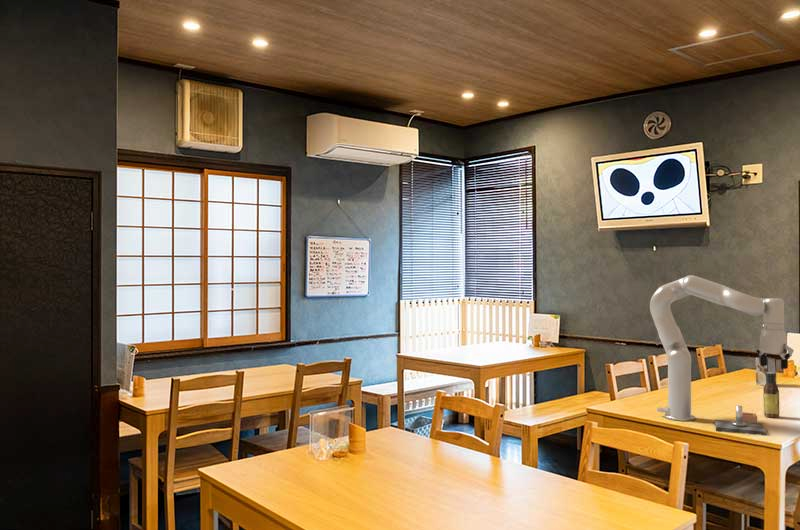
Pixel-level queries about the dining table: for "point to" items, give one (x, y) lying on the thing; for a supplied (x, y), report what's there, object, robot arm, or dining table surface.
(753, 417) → the square ring block
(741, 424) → the metal post
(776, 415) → the sauce bottle
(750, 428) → the base plate
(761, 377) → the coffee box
